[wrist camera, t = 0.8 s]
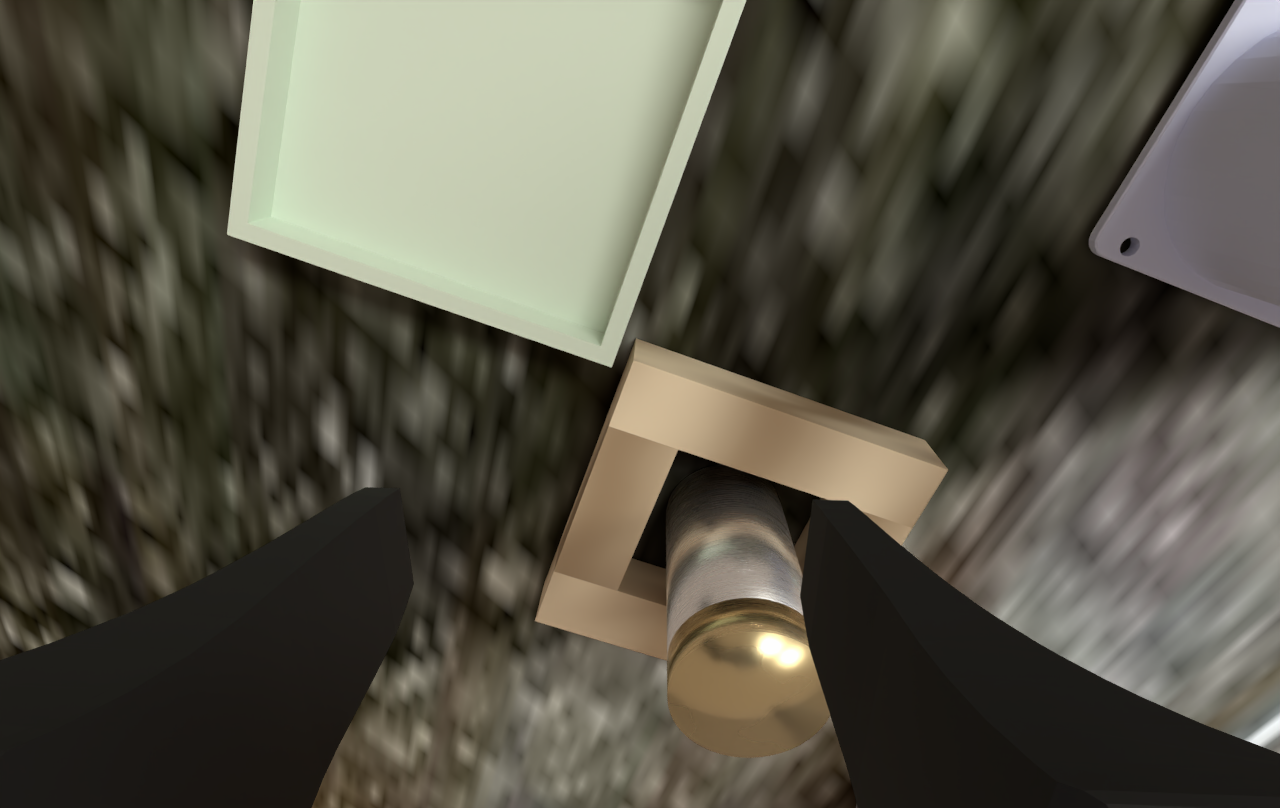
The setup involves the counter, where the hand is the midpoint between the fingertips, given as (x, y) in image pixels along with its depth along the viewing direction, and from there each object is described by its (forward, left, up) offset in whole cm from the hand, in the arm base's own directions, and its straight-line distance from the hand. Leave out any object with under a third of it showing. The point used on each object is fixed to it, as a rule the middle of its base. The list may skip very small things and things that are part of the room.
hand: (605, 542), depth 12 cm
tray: (+6, -5, -10) cm, 13 cm away
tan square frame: (-5, +5, -10) cm, 12 cm away
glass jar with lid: (-5, +5, -10) cm, 12 cm away
